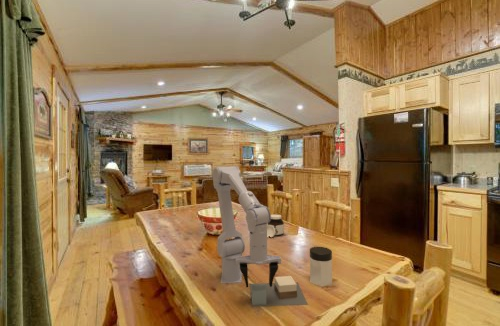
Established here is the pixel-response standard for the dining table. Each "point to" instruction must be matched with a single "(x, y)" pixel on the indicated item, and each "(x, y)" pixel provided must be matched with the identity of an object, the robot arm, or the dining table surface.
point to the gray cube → (258, 294)
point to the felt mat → (274, 300)
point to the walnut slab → (285, 293)
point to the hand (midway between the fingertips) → (258, 285)
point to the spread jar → (275, 226)
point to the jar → (320, 266)
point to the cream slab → (285, 284)
